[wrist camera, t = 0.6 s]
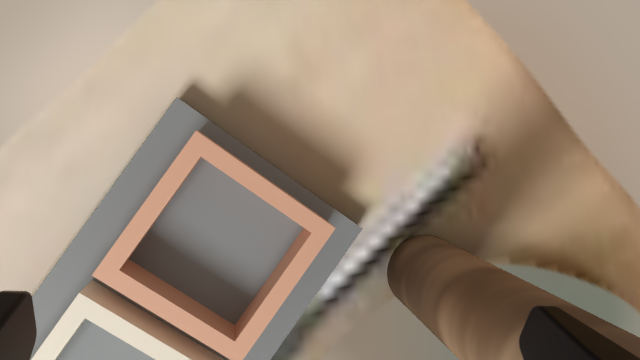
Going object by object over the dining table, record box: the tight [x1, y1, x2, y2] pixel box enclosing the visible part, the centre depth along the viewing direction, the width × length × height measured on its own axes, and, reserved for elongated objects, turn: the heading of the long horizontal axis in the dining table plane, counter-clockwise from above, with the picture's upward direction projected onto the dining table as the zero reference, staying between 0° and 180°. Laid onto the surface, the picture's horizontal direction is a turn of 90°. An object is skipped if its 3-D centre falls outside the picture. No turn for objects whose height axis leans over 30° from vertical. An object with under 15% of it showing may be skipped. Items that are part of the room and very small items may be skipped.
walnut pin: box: [387, 235, 640, 360], centre depth 20 cm, size 4×4×14 cm
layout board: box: [30, 98, 362, 360], centre depth 24 cm, size 20×11×3 cm, turn 144°
